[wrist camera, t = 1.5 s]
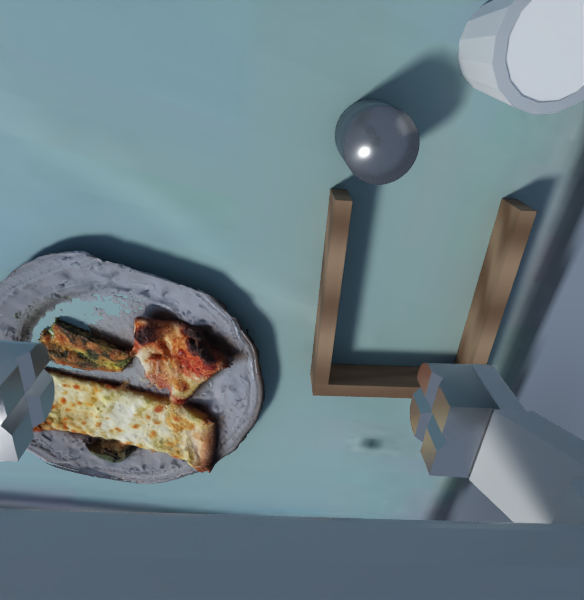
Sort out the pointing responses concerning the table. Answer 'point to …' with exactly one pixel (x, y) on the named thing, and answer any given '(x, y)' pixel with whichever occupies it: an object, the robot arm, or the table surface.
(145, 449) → the food plate
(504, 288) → the wooden u-shaped frame
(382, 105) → the grey rounded piece
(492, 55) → the shot glass
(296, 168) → the table surface
